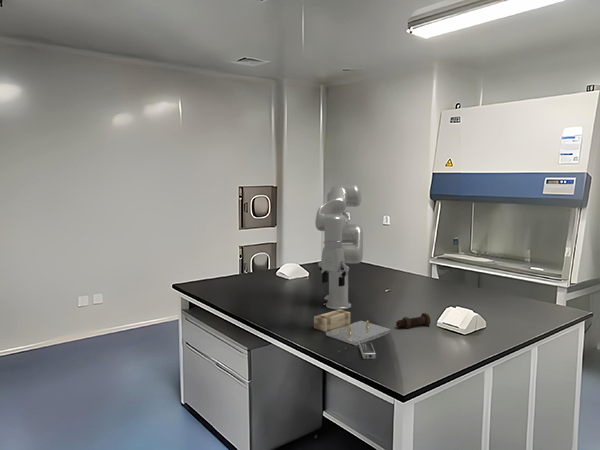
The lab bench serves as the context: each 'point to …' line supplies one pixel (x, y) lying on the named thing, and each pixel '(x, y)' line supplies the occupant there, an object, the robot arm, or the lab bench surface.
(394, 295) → the lab bench surface
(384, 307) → the lab bench surface
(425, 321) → the bolt
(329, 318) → the tan rectangular block
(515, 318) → the lab bench surface
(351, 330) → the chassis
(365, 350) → the multiport hub
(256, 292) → the lab bench surface
